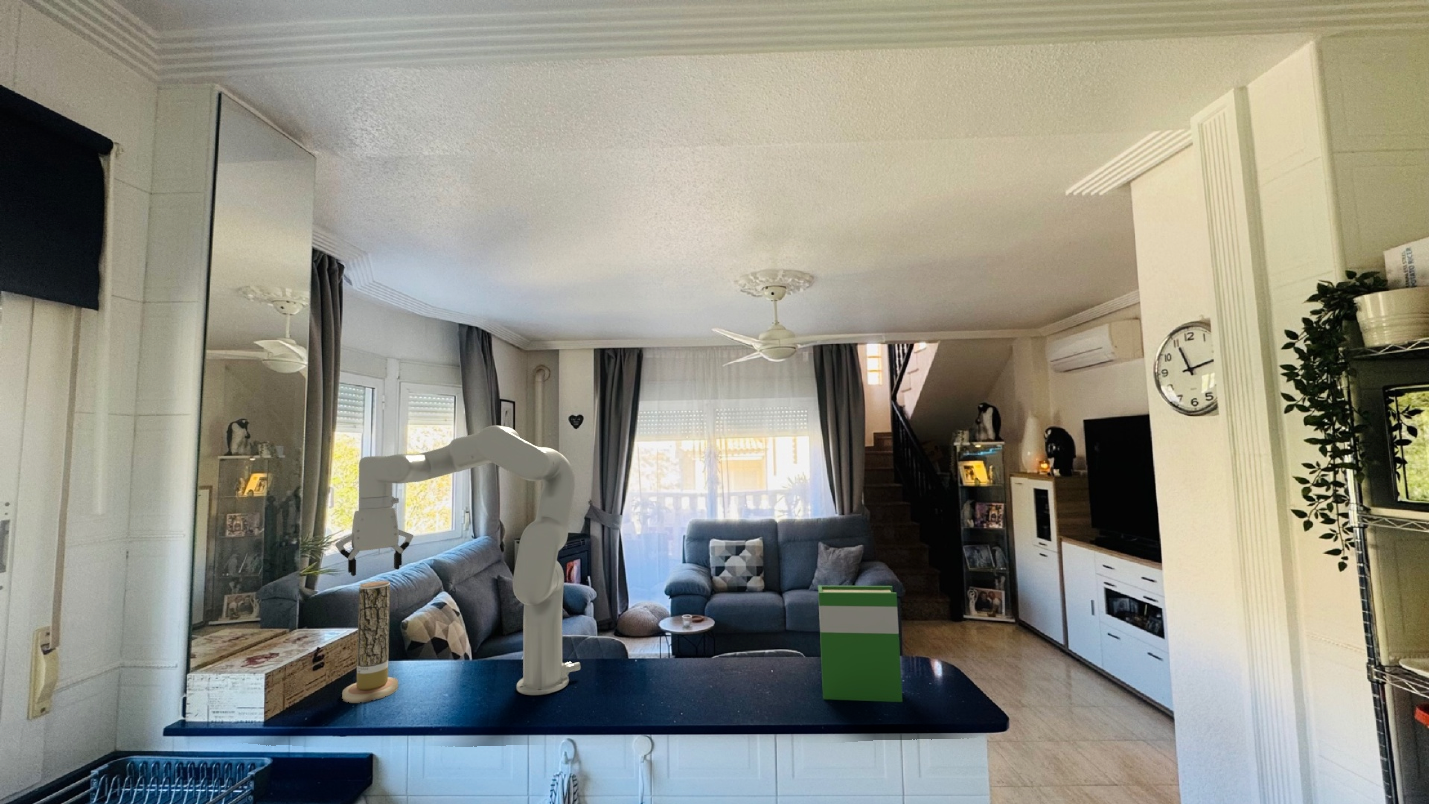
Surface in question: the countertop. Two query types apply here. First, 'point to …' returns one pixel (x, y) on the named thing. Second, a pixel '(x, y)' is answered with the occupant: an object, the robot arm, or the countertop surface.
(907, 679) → the countertop surface
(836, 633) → the hardback book
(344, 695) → the plate
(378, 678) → the paper tube
